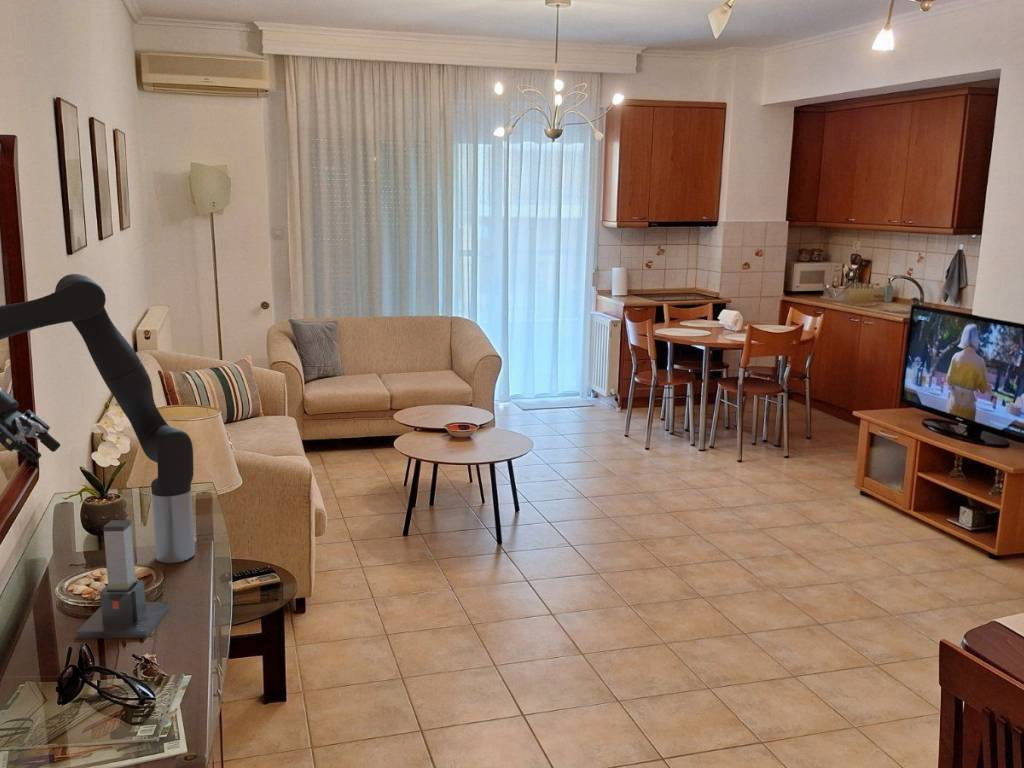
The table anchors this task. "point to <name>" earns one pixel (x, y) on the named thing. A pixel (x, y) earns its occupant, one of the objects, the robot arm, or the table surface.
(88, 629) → the stand
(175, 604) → the table surface
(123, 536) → the post
